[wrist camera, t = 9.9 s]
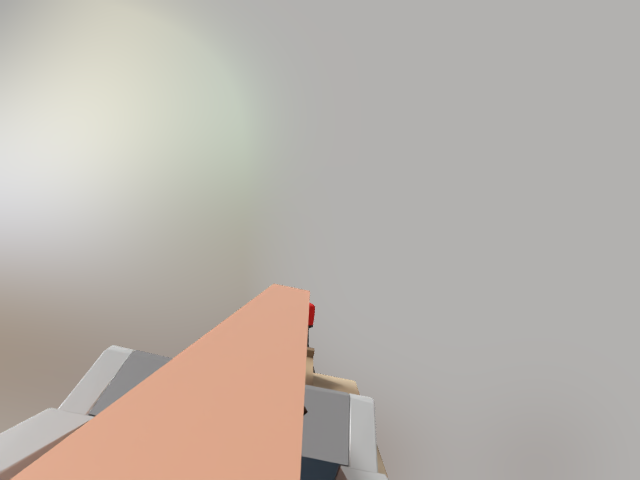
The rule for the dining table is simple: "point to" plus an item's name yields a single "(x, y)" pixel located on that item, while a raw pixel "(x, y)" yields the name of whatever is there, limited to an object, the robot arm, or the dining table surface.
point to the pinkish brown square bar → (205, 407)
